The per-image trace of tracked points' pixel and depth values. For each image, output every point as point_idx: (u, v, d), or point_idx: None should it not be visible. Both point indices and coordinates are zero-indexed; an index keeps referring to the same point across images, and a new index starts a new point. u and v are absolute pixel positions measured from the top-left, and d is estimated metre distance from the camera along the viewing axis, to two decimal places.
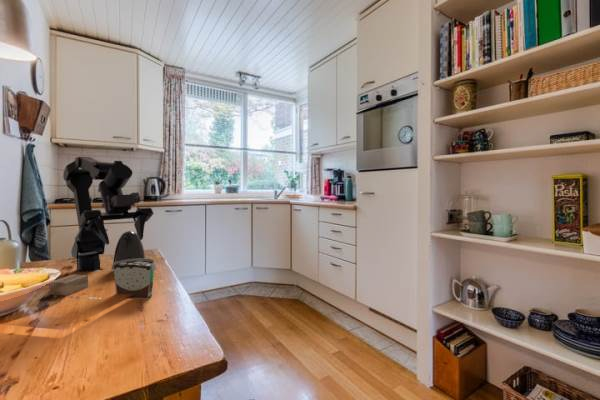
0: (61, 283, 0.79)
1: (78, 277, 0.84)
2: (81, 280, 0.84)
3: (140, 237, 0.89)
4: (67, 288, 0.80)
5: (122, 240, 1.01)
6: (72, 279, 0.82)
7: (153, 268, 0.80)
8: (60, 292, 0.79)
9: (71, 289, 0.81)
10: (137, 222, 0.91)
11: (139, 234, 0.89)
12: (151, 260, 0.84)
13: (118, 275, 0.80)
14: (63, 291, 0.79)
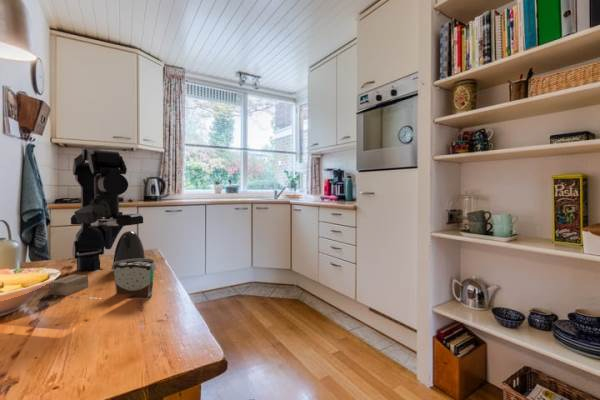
0: (61, 283, 0.79)
1: (78, 277, 0.84)
2: (81, 280, 0.84)
3: None
4: (67, 288, 0.80)
5: (122, 240, 1.01)
6: (72, 279, 0.82)
7: (153, 268, 0.80)
8: (60, 292, 0.79)
9: (71, 289, 0.81)
10: None
11: None
12: (151, 260, 0.84)
13: (118, 275, 0.80)
14: (63, 291, 0.79)
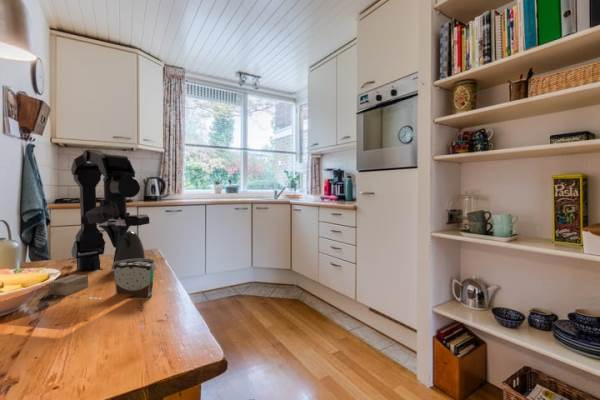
0: (61, 283, 0.79)
1: (78, 277, 0.84)
2: (81, 280, 0.84)
3: None
4: (67, 288, 0.80)
5: (122, 240, 1.01)
6: (72, 279, 0.82)
7: (153, 268, 0.80)
8: (60, 292, 0.79)
9: (71, 289, 0.81)
10: None
11: None
12: (151, 260, 0.84)
13: (118, 275, 0.80)
14: (63, 291, 0.79)
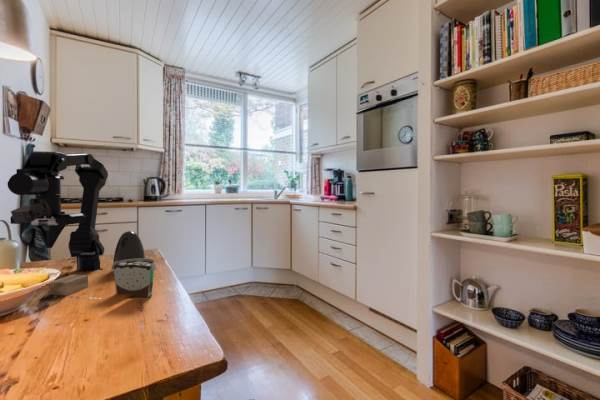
0: (61, 283, 0.79)
1: (78, 277, 0.84)
2: (81, 280, 0.84)
3: None
4: (67, 288, 0.80)
5: (122, 240, 1.01)
6: (72, 279, 0.82)
7: (153, 268, 0.80)
8: (60, 292, 0.79)
9: (71, 289, 0.81)
10: None
11: None
12: (151, 260, 0.84)
13: (118, 275, 0.80)
14: (63, 291, 0.79)
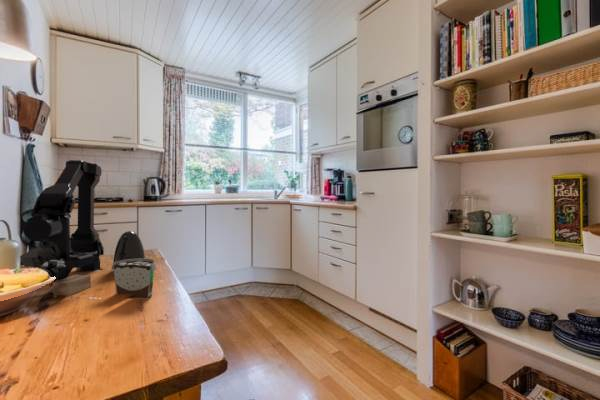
0: (64, 283, 0.79)
1: (81, 277, 0.84)
2: (84, 280, 0.84)
3: None
4: (70, 288, 0.79)
5: (122, 240, 1.01)
6: (75, 279, 0.82)
7: (153, 268, 0.80)
8: (62, 293, 0.79)
9: (74, 289, 0.81)
10: None
11: None
12: (151, 260, 0.84)
13: (118, 275, 0.80)
14: (66, 291, 0.79)
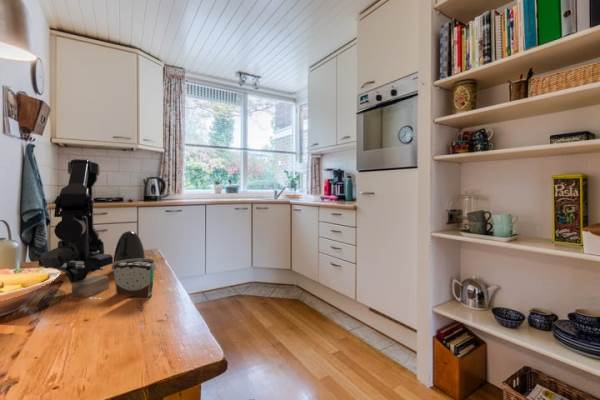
0: (83, 284, 0.78)
1: (99, 278, 0.83)
2: (102, 282, 0.83)
3: None
4: (89, 289, 0.79)
5: (122, 240, 1.01)
6: (93, 280, 0.81)
7: (153, 268, 0.80)
8: (82, 294, 0.78)
9: (93, 290, 0.80)
10: None
11: None
12: (151, 260, 0.84)
13: (118, 275, 0.80)
14: (85, 292, 0.78)
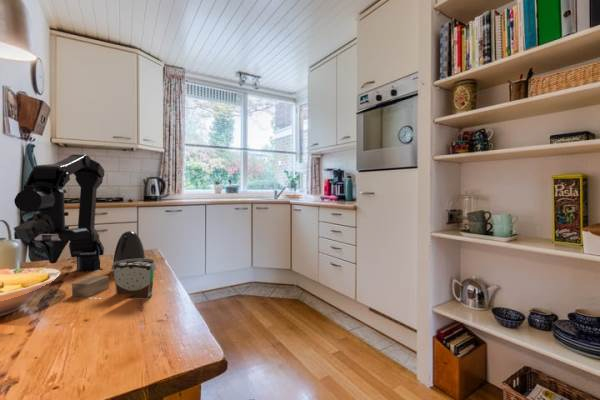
0: (83, 284, 0.78)
1: (99, 278, 0.83)
2: (102, 282, 0.83)
3: None
4: (90, 289, 0.79)
5: (122, 240, 1.01)
6: (94, 280, 0.81)
7: (153, 268, 0.80)
8: (82, 294, 0.78)
9: (93, 290, 0.80)
10: None
11: None
12: (151, 260, 0.84)
13: (118, 275, 0.80)
14: (85, 292, 0.78)
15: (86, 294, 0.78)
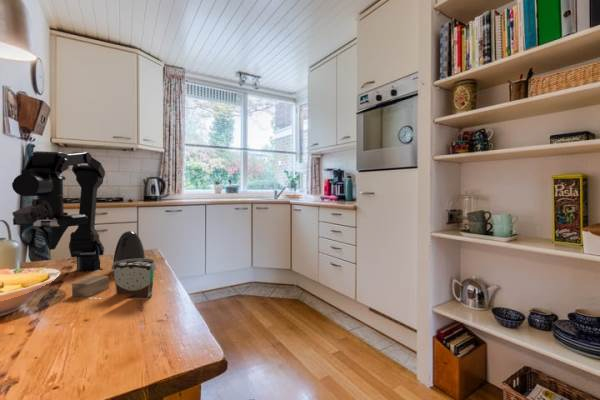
0: (83, 284, 0.78)
1: (99, 278, 0.83)
2: (102, 282, 0.83)
3: None
4: (90, 289, 0.79)
5: (122, 240, 1.01)
6: (94, 280, 0.81)
7: (153, 268, 0.80)
8: (82, 294, 0.78)
9: (93, 290, 0.80)
10: None
11: None
12: (151, 260, 0.84)
13: (118, 275, 0.80)
14: (85, 292, 0.78)
15: (86, 294, 0.78)
